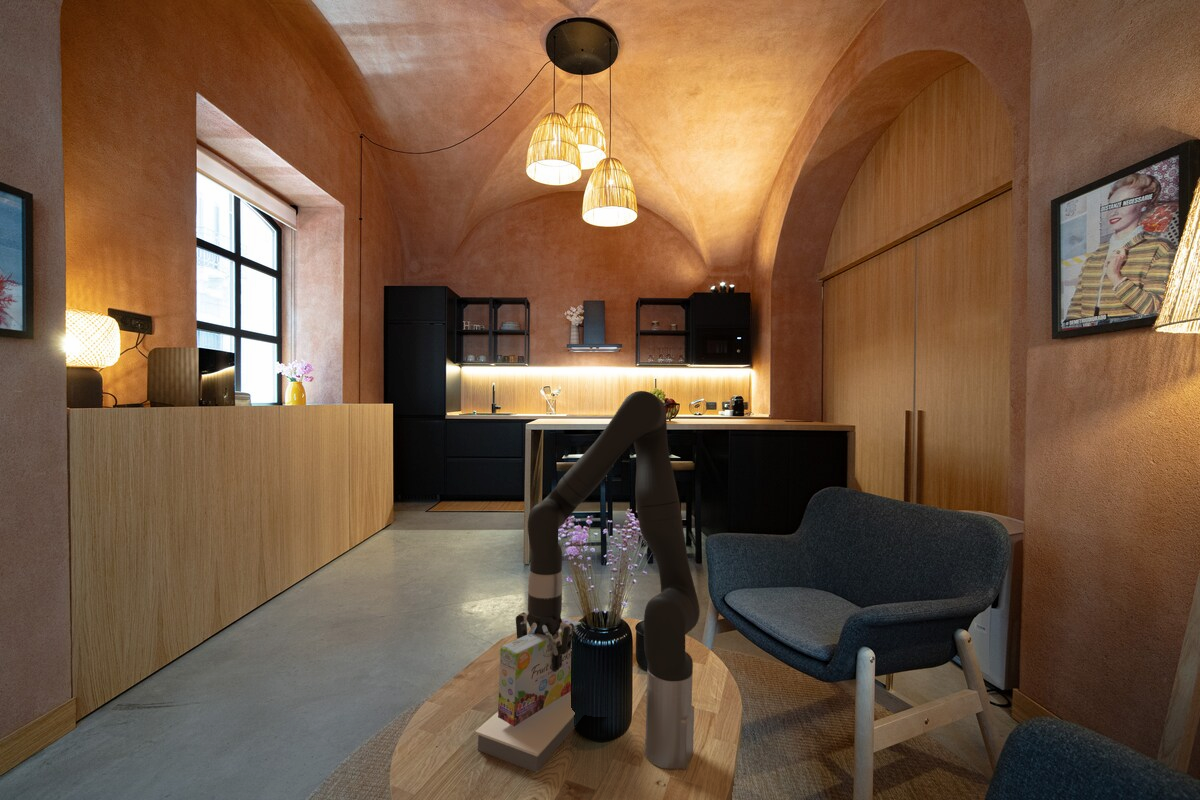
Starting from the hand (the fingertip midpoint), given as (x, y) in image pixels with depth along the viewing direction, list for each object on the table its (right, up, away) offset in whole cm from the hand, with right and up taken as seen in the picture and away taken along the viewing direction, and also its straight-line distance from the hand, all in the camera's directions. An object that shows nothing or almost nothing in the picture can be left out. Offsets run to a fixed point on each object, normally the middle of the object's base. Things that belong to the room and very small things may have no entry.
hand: (542, 666), depth 115 cm
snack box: (0, -8, 0) cm, 8 cm away
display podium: (-1, -13, 0) cm, 13 cm away
